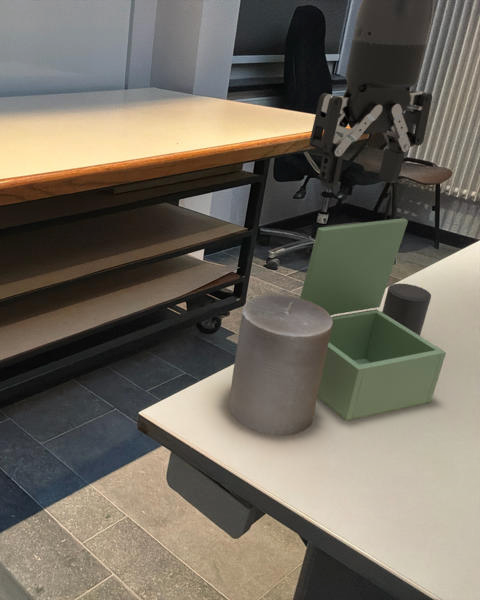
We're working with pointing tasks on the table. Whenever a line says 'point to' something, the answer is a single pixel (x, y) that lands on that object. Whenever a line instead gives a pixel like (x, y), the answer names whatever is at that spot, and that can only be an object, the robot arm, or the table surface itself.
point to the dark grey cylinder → (407, 305)
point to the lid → (352, 265)
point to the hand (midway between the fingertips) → (358, 183)
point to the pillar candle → (279, 364)
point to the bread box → (377, 366)
